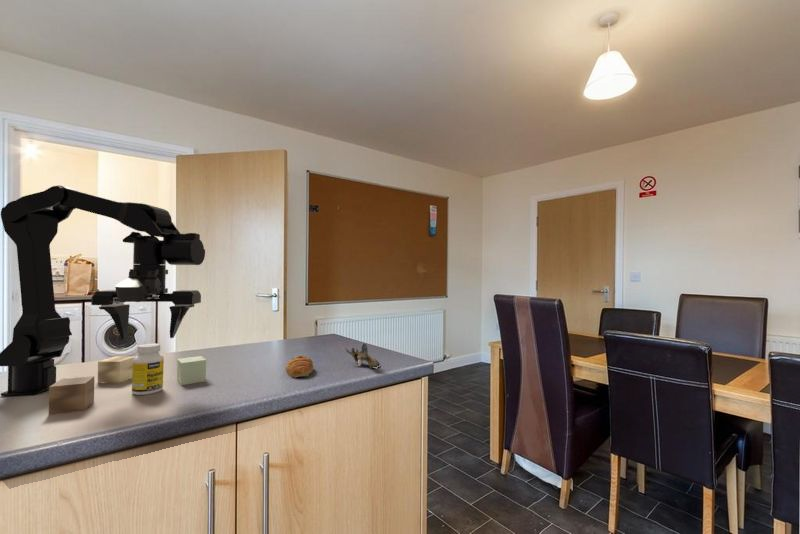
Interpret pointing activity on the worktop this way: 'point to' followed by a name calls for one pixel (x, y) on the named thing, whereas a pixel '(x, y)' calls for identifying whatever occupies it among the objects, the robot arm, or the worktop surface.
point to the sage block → (191, 370)
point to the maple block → (115, 369)
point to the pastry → (299, 366)
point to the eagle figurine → (363, 356)
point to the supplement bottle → (147, 370)
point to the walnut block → (71, 395)
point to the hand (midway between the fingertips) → (148, 338)
